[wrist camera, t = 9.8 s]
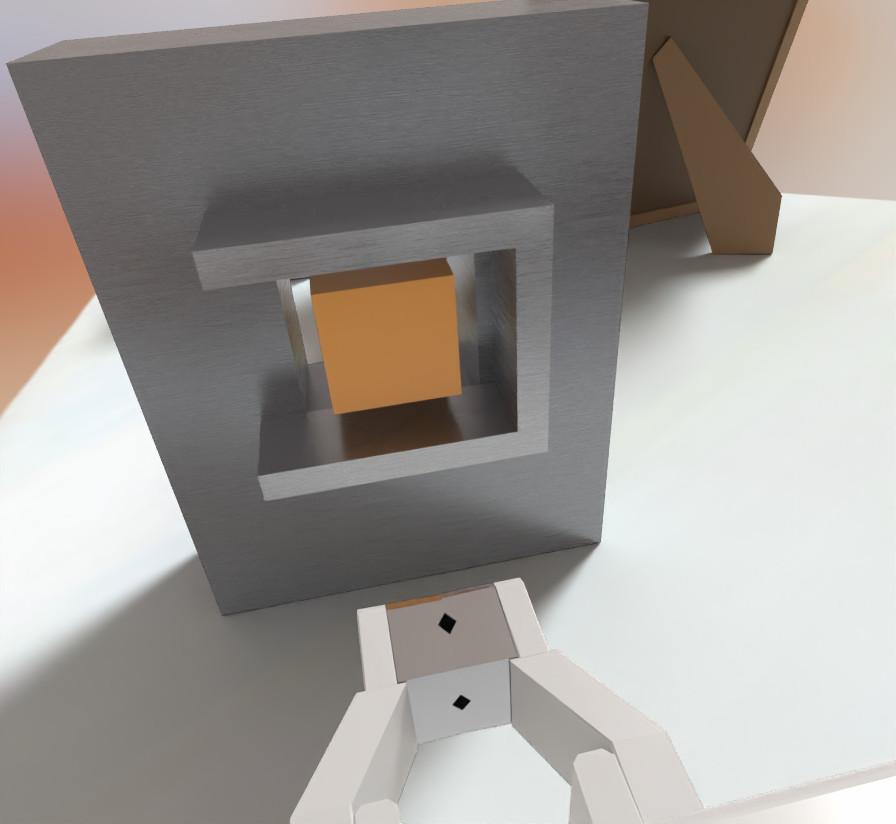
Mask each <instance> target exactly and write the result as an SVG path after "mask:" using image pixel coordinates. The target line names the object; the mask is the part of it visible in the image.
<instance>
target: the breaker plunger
mask: <svg viewBox="0 0 896 824" xmlns="http://www.w3.org/2000/svg"><path fill="white" fill-rule="evenodd" d="M309 277H310V291H311V299H312V304H313V309H314V314H315V319H316V324H317V330H318V335H319V340H320V345H321V350H322V355H323V360H324V365H325V370H326V375H327V381H328V386H329V391H330V396H331V401H332V406H333V411H334V415H336V414H342V413H348V412H354V411H360V410H367V409H373V408H379V407H385V406H391V405H397V404H403V403H410V402H416V401H422V400H428V399H434V398H440V397H446V396H453V395H459V394H462V392H461V376H460V360H459V345H458V329H457V313H456V297H455V282H454V274H453V272H452V270H451V268H450V266H449V264H448V262H447V260H446V258H445V257H444V258H437V259H429V260H422V261H415V262H408V263H400V264H393V265H386V266H378V267H371V268H364V269H357V270H349V271H342V272H335V273H327V274H320V275H313V276H309Z"/></svg>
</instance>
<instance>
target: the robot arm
mask: <svg viewBox="0 0 896 824" xmlns="http://www.w3.org/2000/svg"><path fill="white" fill-rule="evenodd" d="M386 608H387V610H386ZM357 624H358V634H359V643H360V653H361V662H362V672H363V682H364V691H362V692H358V693H356V694H355V696H354V698H353V700H352V702H351V704H350V706H349V708H348V709H347V711H346V713H345V715H344V717H343V719H342V721H341V723H340V725H339V727H338V728H337V730H336V732H335V734H334V736H333V738H332V740H331V742H330V744H329V745H328V747H327V749H326V751H325V753H324V755H323V757H322V759H321V761H320V763H319V764H318V766H317V768H316V770H315V772H314V774H313V776H312V778H311V780H310V782H309V783H308V785H307V787H306V789H305V791H304V793H303V795H302V797H301V799H300V800H299V802H298V804H297V806H296V808H295V810H294V812H293V814H292V816H291V818H290V824H402V821H401V816H400V812H399V807H398V802H399V800H400V797H401V794H402V791H403V789H404V786H405V783H406V780H407V777H408V775H409V772H410V769H411V766H412V764H413V761H414V758H415V755H416V752H417V750H418V745H419V744H423V743H427V742H431V741H435V740H438V739H442V738H446V737H450V736H454V735H458V734H462V733H464V732H465V733H466V732H471V731H476V730H481V729H486V728H492V727H497V726H502V725H507V724H512V726H513V727H514V728H515V730H516V731H517V732H518V733H519V734H520V735H521V736H522V737H523V738H524V739H525V740H526V741H527V742H528V743H529V744H530V745H531V746H532V747H533V748H534V749H535V750H536V751H537V752H538V753H539V754H540V755H541V756H542V757H543V758H544V759H545V760H546V761H547V762H548V763H549V764H550V765H551V766H552V767H553V768H554V769H555V770H556V771H557V772H558V774H559V775H560V776H561V777H562V778H563V779H564V780H565V781H566V782H567V783H568V784H569V785H570V786H571V800H570V814H569V824H896V760H895V761H891V762H887V763H883V764H879V765H875V766H871V767H867V768H863V769H859V770H855V771H851V772H847V773H843V774H839V775H835V776H831V777H827V778H823V779H819V780H815V781H811V782H807V783H803V784H799V785H795V786H791V787H787V788H783V789H779V790H775V791H771V792H767V793H763V794H760V795H756V796H752V797H748V798H744V799H740V800H736V801H732V802H728V803H724V804H720V805H716V806H712V807H708V808H704V807H703V805H702V803H701V801H700V799H699V797H698V795H697V793H696V791H695V789H694V787H693V785H692V783H691V781H690V779H689V777H688V775H687V773H686V771H685V769H684V766H683V764H682V762H681V760H680V758H679V756H678V754H677V752H676V750H675V748H674V746H673V744H672V742H671V740H670V738H669V736H668V734H667V732H666V731H665V730H664V729H662V728H661V727H660V726H658V725H657V724H656V723H654V722H653V721H652V720H650V719H649V718H648V717H646V716H645V715H644V714H642V713H641V712H640V711H638V710H637V709H636V708H634V707H633V706H632V705H630V704H629V703H628V702H626V701H625V700H624V699H622V698H621V697H620V696H619V695H617V694H616V693H615V692H613V691H612V690H611V689H609V688H608V687H607V686H605V685H604V684H603V683H601V682H600V681H599V680H597V679H596V678H595V677H593V676H592V675H591V674H589V673H588V672H587V671H585V670H584V669H583V668H581V667H580V666H579V665H577V664H576V663H575V662H573V661H572V660H571V659H569V658H568V657H567V656H565V655H564V654H563V653H561V652H560V651H559V650H553V651H549V648H548V645H547V643H546V640H545V638H544V635H543V632H542V630H541V627H540V624H539V622H538V619H537V617H536V614H535V611H534V609H533V606H532V603H531V601H530V598H529V596H528V593H527V590H526V588H525V585H524V582H523V581H522V580H521V579H520V578H515V579H510V580H505V581H500V582H495V583H493V584H492V583H487V584H483V585H478V586H473V587H469V588H464V589H459V590H455V591H450V592H445V593H441V594H439V595H435V596H430V597H424V598H418V599H412V600H407V601H401V602H395V603H389V604H386V606H385V605H379V606H374V607H369V608H363V609H358V610H357Z"/></svg>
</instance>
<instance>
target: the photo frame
mask: <svg viewBox="0 0 896 824" xmlns="http://www.w3.org/2000/svg"><path fill="white" fill-rule="evenodd" d="M632 1H639V2H646V3H649V7H648V19H647V30H646V41H645V52H644V63H643V75H642V86H641V97H640V108H639V119H638V131H637V142H636V153H635V164H634V175H633V187H632V198H631V209H630V220H629V228H632V227H637V226H641V225H645V224H650V223H654V222H659V221H663V220H668V219H672V218H677V217H681V216H685V215H690V214H694V213H699V212H700V214H701V217H702V221H703V224H704V227H705V230H706V234H707V237H708V240H709V243H710V246H711V250H712V253H713V254H772V253H773V247H774V241H775V235H776V228H777V222H778V216H779V210H780V204H781V198H782V195H781V194H780V192H779V191H778V189H777V188H776V187H775V185H774V184H773V182H772V181H771V179H770V178H769V177H768V175H767V174H766V172H765V171H764V169H763V168H762V167H761V165H760V164H759V162H758V161H757V160H756V158H755V157H754V155H753V154H752V152H751V150H752V148H753V145H754V142H755V139H756V137H757V134H758V132H759V129H760V127H761V124H762V121H763V119H764V116H765V113H766V111H767V108H768V105H769V103H770V100H771V97H772V95H773V92H774V89H775V87H776V84H777V82H778V79H779V76H780V74H781V71H782V68H783V66H784V63H785V61H786V58H787V55H788V53H789V50H790V47H791V45H792V42H793V39H794V37H795V34H796V31H797V29H798V26H799V24H800V21H801V18H802V16H803V13H804V10H805V7H806V5H807V3H808V0H632Z"/></svg>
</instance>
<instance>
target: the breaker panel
mask: <svg viewBox="0 0 896 824" xmlns="http://www.w3.org/2000/svg"><path fill="white" fill-rule="evenodd" d="M648 7H649V3H646V2H639V1H632V0H503V1H492V2H481V3H470V4H459V5H448V6H437V7H426V8H416V9H404V10H394V11H382V12H371V13H360V14H350V15H339V16H329V17H328V16H327V17H317V18H306V19H294V20H284V21H272V22H262V23H251V24H240V25H229V26H218V27H207V28H196V29H185V30H174V31H163V32H153V33H141V34H130V35H119V36H108V37H97V38H86V39H75V40H64V41H61V42H58V43H56V44H54V45H51V46H49V47H46V48H43V49H41V50H39V51H36V52H34V53H31V54H29V55H26V56H24V57H21V58H19V59H17V60H14V61H11V62H9V63H6V64H7V67H8V69H9V72H10V75H11V77H12V80H13V83H14V85H15V88H16V90H17V93H18V95H19V98H20V100H21V103H22V105H23V108H24V111H25V113H26V116H27V118H28V121H29V123H30V126H31V128H32V131H33V134H34V136H35V139H36V141H37V144H38V146H39V149H40V151H41V154H42V157H43V159H44V162H45V164H46V167H47V169H48V172H49V175H50V177H51V180H52V182H53V185H54V187H55V190H56V192H57V195H58V198H59V200H60V203H61V205H62V208H63V210H64V213H65V215H66V217H67V221H68V223H69V226H70V228H71V231H72V233H73V236H74V238H75V241H76V244H77V246H78V249H79V251H80V254H81V256H82V259H83V261H84V264H85V266H86V269H87V272H88V274H89V277H90V279H91V282H92V284H93V287H94V290H95V292H96V295H97V297H98V300H99V302H100V305H101V307H102V310H103V312H104V315H105V318H106V320H107V323H108V325H109V328H110V330H111V333H112V335H113V338H114V341H115V343H116V346H117V348H118V351H119V353H120V356H121V358H122V361H123V364H124V366H125V369H126V371H127V374H128V376H129V379H130V381H131V384H132V387H133V389H134V392H135V394H136V397H137V399H138V402H139V404H140V407H141V410H142V412H143V415H144V417H145V420H146V422H147V425H148V427H149V430H150V433H151V435H152V438H153V440H154V443H155V445H156V448H157V450H158V453H159V456H160V458H161V461H162V463H163V466H164V468H165V471H166V473H167V476H168V479H169V481H170V484H171V486H172V489H173V491H174V494H175V496H176V499H177V502H178V504H179V507H180V509H181V512H182V514H183V517H184V519H185V522H186V525H187V527H188V530H189V532H190V535H191V537H192V540H193V542H194V545H195V547H196V550H197V553H198V555H199V558H200V560H201V563H202V565H203V568H204V570H205V573H206V576H207V578H208V581H209V583H210V586H211V588H212V591H213V593H214V596H215V599H216V601H217V604H218V606H219V609H220V611H221V614H222V616H223V615H228V614H234V613H239V612H244V611H249V610H254V609H259V608H264V607H270V606H275V605H280V604H285V603H290V602H295V601H300V600H305V599H311V598H316V597H321V596H326V595H331V594H336V593H341V592H347V591H352V590H357V589H362V588H367V587H372V586H377V585H383V584H388V583H393V582H398V581H403V580H408V579H413V578H418V577H424V576H429V575H434V574H439V573H444V572H449V571H454V570H460V569H465V568H470V567H475V566H480V565H485V564H490V563H496V562H501V561H506V560H511V559H516V558H521V557H526V556H531V555H537V554H542V553H547V552H552V551H557V550H562V549H567V548H573V547H578V546H583V545H588V544H593V543H598V542H601V534H602V523H603V512H604V500H605V489H606V478H607V467H608V456H609V444H610V433H611V422H612V411H613V400H614V388H615V377H616V366H617V355H618V343H619V332H620V321H621V310H622V299H623V287H624V276H625V265H626V254H627V243H628V231H629V220H630V209H631V198H632V187H633V175H634V164H635V153H636V142H637V131H638V119H639V108H640V97H641V86H642V75H643V63H644V52H645V41H646V30H647V19H648ZM444 257H447V261H448V264H449V266H450V268H451V270H452V272H453V274H454V282H455V297H456V313H457V329H458V345H459V360H460V376H461V392H462V394H459V395H453V396H446V397H440V398H434V399H428V400H422V401H416V402H410V403H403V404H397V405H391V406H385V407H379V408H373V409H367V410H360V411H354V412H348V413H342V414H336V415H334V411H333V406H332V401H331V396H330V391H329V386H328V381H327V375H326V370H325V365H324V362H321V363H314V364H308V363H307V359H306V354H305V349H304V345H303V340H302V335H301V330H300V326H299V321H298V316H297V312H296V307H295V302H294V297H293V293H292V288H291V283H290V279H291V278H298V277H306V276H313V275H320V274H327V273H335V272H342V271H349V270H357V269H364V268H371V267H378V266H386V265H393V264H400V263H408V262H415V261H422V260H429V259H437V258H444Z"/></svg>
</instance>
